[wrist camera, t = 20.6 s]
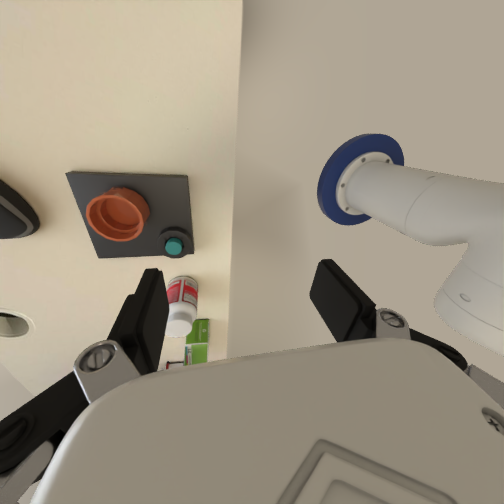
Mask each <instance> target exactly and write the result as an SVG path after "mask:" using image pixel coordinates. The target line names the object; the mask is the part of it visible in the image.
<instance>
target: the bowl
mask: <svg viewBox="0 0 504 504" xmlns="http://www.w3.org/2000/svg"><path fill="white" fill-rule="evenodd" d="M149 216H150V211H149V206H148V204H147V203H146V201H145V200H144V198H143V197H142V196H140V195H139V194H138V193H136V192H135V191H133V190H130V189H127V188H124V187H113V188H111V189H108V190H106V191H104V192H103V193H101V194H100V195H98V196H96V197H95V198H93V199H92V200H91V202H90V203H89V204H88V205H87V209H86V217H87V220H88V222H89V225H90V226H91V227H92V228H93V229H94V230H95V231H96V233H98V234H100V235H101V236H103V237H105V238H107V239H110V240H114V241H129V240H132V239H134V238H136V237H137V236H138V235H139V234H140V233H141V232H142V230H143V229H144V227H145V225H146V224H147V222H148V220H149Z"/></svg>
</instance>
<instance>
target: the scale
mask: <svg viewBox="0 0 504 504" xmlns="http://www.w3.org/2000/svg"><path fill="white" fill-rule="evenodd" d="M65 174H66V176H67V179H68V182H69V184H70V187H71V189H72V192H73V194H74V197H75V199H76V202H77V205H78V207H79V210H80V212H81V215H82V217H83V220H84V222H85V225H86V227H87V230H88V233H89V235H90V238H91V240H92V243H93V245H94V248H95V250H96V253H97V256H98V258H119V257H141V256H162V255H164V256H167V257H169V258H182V257H183V256H185V255H187V254H194V241H193V230H192V219H191V208H190V197H189V186H188V176H182V175H154V174H126V173H97V172H68V173H65ZM113 187H124V188H127V189H130V190H133V191H135V192H136V193H138V194H139V195H140V196H142V197H143V198H144V200H145V201H146V203H147V204H148V206H149V211H150V216H149V220H148V222H147V224H146V225H145V227H144V229H143V230H142V232H141V233H140V234H139V235H138V236H137V237H136V238H134V239H132V240H129V241H114V240H110V239H107V238H105V237H103V236H101V235H100V234H98V233H96V231H95V230H94V229H93V228H92V227H91V226H90V225H89V222H88V220H87V217H86V209H87V205H88V204H89V203H90V202H91V200H92V199H93V198H95V197H96V196H98V195H100V194H101V193H103V192H104V191H106V190H108V189H111V188H113ZM170 238H178V239H180V240H181V242H182V250H181V252H180V253H179V254H177V255H171V254H169V253H168V252H167V251H166V249H165V246H166V243H167V241H168V240H169V239H170Z"/></svg>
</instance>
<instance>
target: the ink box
mask: <svg viewBox="0 0 504 504" xmlns="http://www.w3.org/2000/svg"><path fill="white" fill-rule="evenodd" d="M208 347H209V319H206V320H195V321H194V322H193V324H192V330H191V332H190V333H189V334H188V335H186V343H185V354H184V363H183V366H187V365H193V364H199V363H205V362H208Z"/></svg>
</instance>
